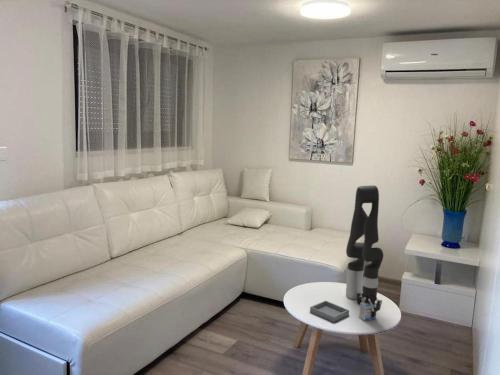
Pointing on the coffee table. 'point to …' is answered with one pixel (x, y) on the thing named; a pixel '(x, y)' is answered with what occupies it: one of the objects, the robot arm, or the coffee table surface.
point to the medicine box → (366, 311)
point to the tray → (329, 311)
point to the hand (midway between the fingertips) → (367, 315)
